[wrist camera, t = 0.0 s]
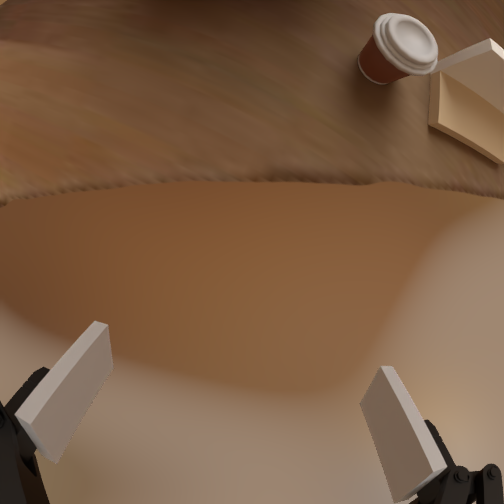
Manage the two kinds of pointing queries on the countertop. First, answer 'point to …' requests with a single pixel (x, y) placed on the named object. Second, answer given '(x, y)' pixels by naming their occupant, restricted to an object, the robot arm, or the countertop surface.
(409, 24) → the coffee cup
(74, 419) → the robot arm
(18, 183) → the countertop surface
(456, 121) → the board
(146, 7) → the countertop surface
